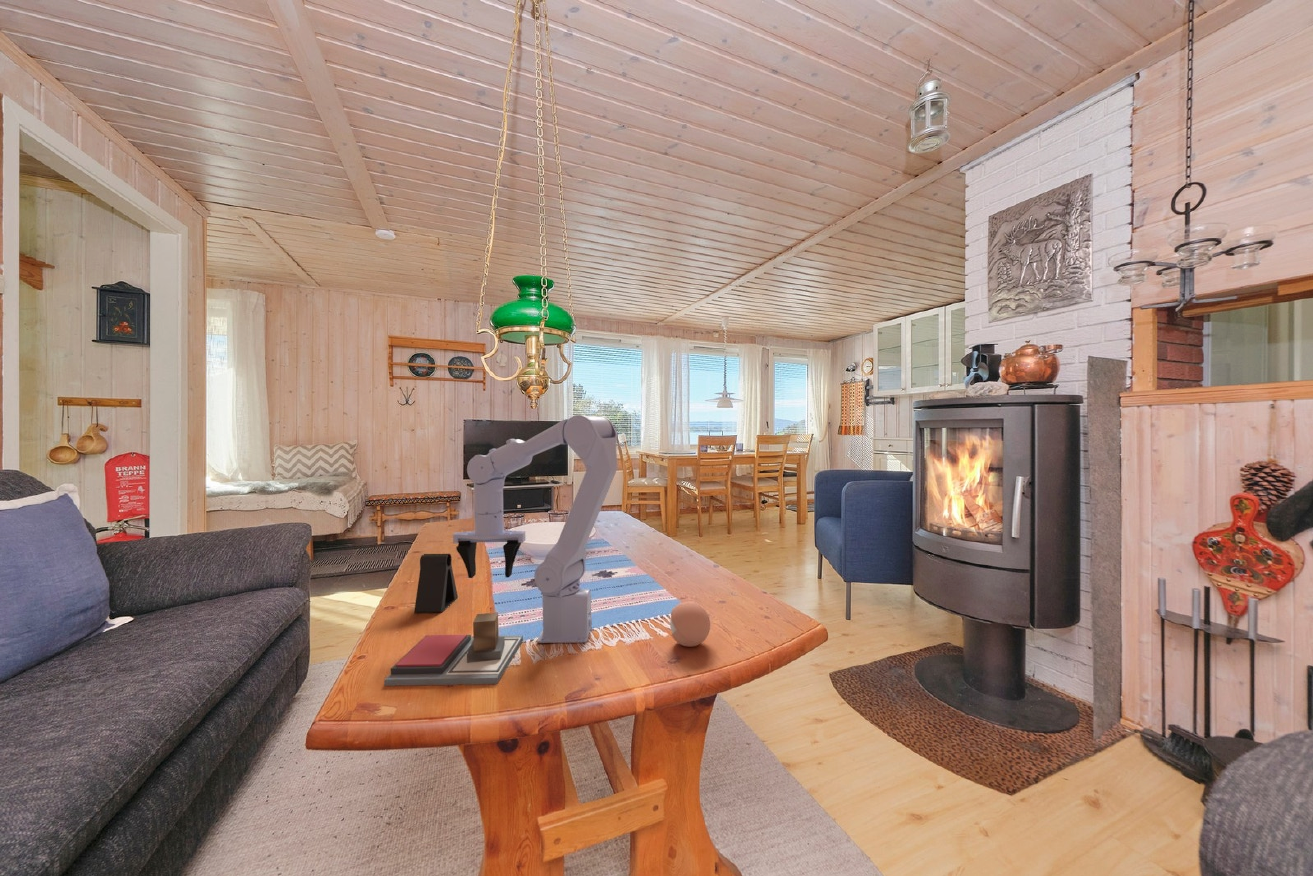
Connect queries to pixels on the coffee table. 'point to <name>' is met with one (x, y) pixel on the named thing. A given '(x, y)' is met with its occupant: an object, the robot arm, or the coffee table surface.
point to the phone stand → (435, 584)
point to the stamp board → (449, 662)
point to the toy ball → (689, 624)
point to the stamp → (485, 639)
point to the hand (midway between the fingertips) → (490, 576)
